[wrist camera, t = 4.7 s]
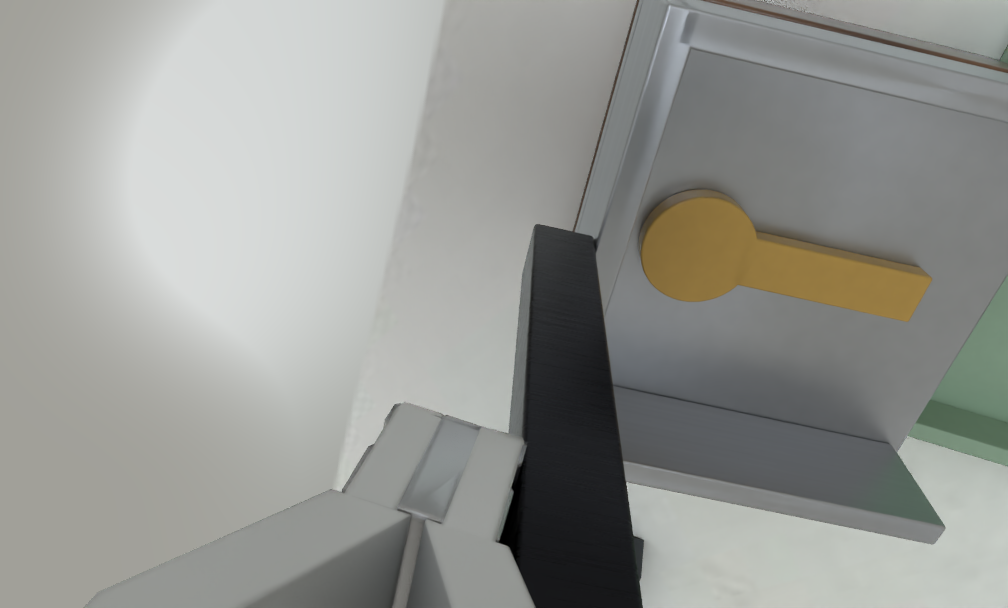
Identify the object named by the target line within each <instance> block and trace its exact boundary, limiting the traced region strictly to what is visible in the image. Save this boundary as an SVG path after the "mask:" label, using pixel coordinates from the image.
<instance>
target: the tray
mask: <svg viewBox="0 0 1008 608" xmlns="http://www.w3.org/2000/svg"><path fill="white" fill-rule="evenodd" d="M1000 61H1002V62H1005V63H1008V46H1007V48H1006V50H1005V52H1004V54H1003V56H1002V57H1001V59H1000ZM908 436H910V437H913V438H916V439H919V440H923V441H926V442H929V443H933V444H936V445H939V446H942V447H946V448H949V449H952V450H956V451H959V452H962V453H965V454H969V455H972V456H975V457H979V458H982V459H985V460H988V461H992V462H995V463H998V464H1002V465H1005V466H1008V275H1007V277H1006V278H1005V280H1004V282H1003V283H1002V285H1001V286H1000V288H999V290H998V291H997V293H996V294H995V296H994V298H993V299H992V301H991V302H990V304H989V306H988V307H987V309H986V310H985V312H984V314H983V315H982V317H981V319H980V320H979V322H978V323H977V325H976V327H975V328H974V330H973V331H972V333H971V335H970V336H969V338H968V339H967V341H966V343H965V344H964V346H963V347H962V349H961V351H960V352H959V354H958V355H957V357H956V359H955V360H954V362H953V363H952V365H951V367H950V368H949V370H948V371H947V373H946V375H945V376H944V378H943V379H942V381H941V383H940V384H939V386H938V387H937V389H936V391H935V392H934V394H933V395H932V397H931V399H930V400H929V402H928V403H927V405H926V407H925V408H924V410H923V411H922V413H921V415H920V416H919V418H918V419H917V421H916V423H915V424H914V426H913V428H912V429H911V431H910V432H909V434H908Z"/></svg>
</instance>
